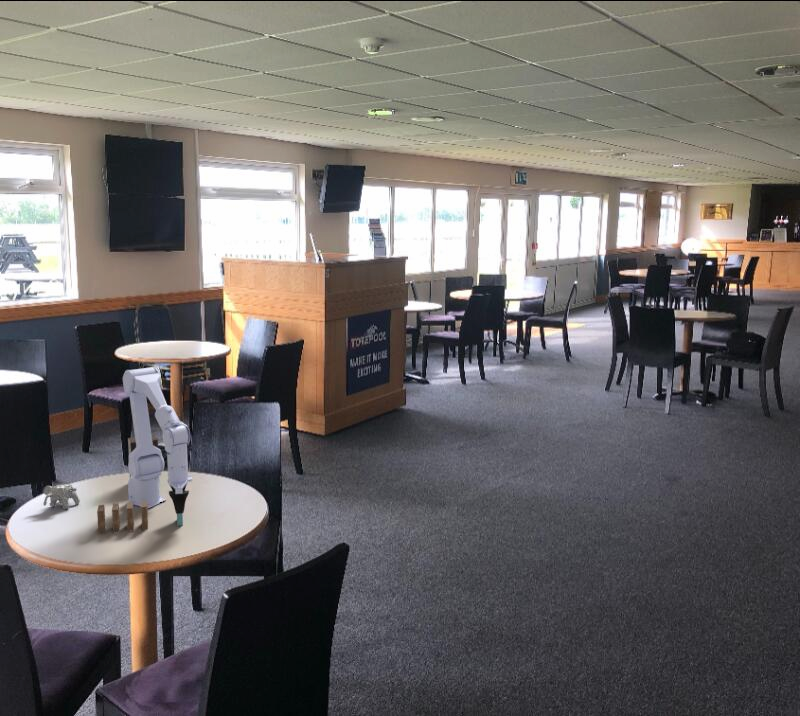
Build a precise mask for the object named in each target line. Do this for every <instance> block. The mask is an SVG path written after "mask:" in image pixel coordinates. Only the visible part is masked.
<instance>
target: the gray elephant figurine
mask: <svg viewBox="0 0 800 716" xmlns="http://www.w3.org/2000/svg"><path fill="white" fill-rule="evenodd" d="M77 490H78V489H77V488H76V487H75V486H73V485H72V484H70V483H69V484H68V483H67V484H66V483H65V484H57V485H55V486H51V485H46V486H45V487H44V488H43V494H44V495H45V497H44V501H43V506H44V507H45V506H46V505H47V503H48V502H47V501H48V498H50V502H49V506H50V508H54V507H55V505H56V503H57V502H60V503H61V505H62V509H63V510H68V509H70V508H71V507H70V506H71V505H70V503H69V499H72V501H73V502H74V504H75V505H79V504H80V501H81V500H80V498H79V495H78V494H77Z"/></svg>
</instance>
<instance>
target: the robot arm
mask: <svg viewBox="0 0 800 716" xmlns="http://www.w3.org/2000/svg"><path fill="white" fill-rule="evenodd" d="M122 383H123V384H122V385H123V390H124V391H123V392H124V395H125V396H127V397H129V401H130V409H131V416H132V424H133V431H134V437H135V440H136V448H135V449H134V450H133V451H132V452H131V453H130V454H129V453H128V465H127V466H128V467H127V468H128V472H129V480H128V482H127V488H128V489H127V490H128V500H127V501H126V503H127V502H133V506H137V507H140V508H141V501H147V509H151V508H152V507H155V506H157V505H160V504H161V503H160V502H162V503H164V502H166V501H167V499H166V498H164V497H161V493H160V492H161V491H160V484H159V482H160V476H162V473H163V471H164V469H165V460H164V457H163V454H162V449H160V448H159V447H158V448H157V447H155V446H153V443H152V429H151V422H150V416H149V415H150V413H149V408H148V407H149V406H148V402H147V401H148V400H149V402H150V403H151V405H152V406H153V408H154V409H155V412H154V417H155V419H156V421H157V423H158V425H159V427H160V429H161V431H162V436H161V437H162V440H163V444H164V450H165V452H166V456H167V457H166V458H167V460H166V461H167V462H166V463H167V484H168V485H169V486H170V488H171V490H168V495H169V497H170V498H171V499H170V500H172V503H173V506H174V507H173V508H174V511H175V514H176V515H177V514H180V513H182V514H184V512H185V508H186V501H187V498H188V496H189V493H190V490H186V488H187V485H188V484H189V482H192V481H193V477H192V476H189V467H188V465H189V464H188V443H190V442H191V431H190V428H189V426H188V425H187V424H185V423H184V422H183V421H181V420H180V419H179V417H178V414H177V413H176V411H175V409H174V408H173V406H171V405H168V404H167V401H166V399H165V396H164V393H163V391H162V389H161V372H160V371H159V369H158V367H156V366H150V367H145V368H137V369H136V368H135V369H126V370H125V371H124V373H123V376H122ZM150 454H153V455H150ZM146 455H149V456H146ZM141 456H144V457H141ZM130 475H131V477H130ZM165 500H166V501H165ZM163 501H164V502H163Z"/></svg>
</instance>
